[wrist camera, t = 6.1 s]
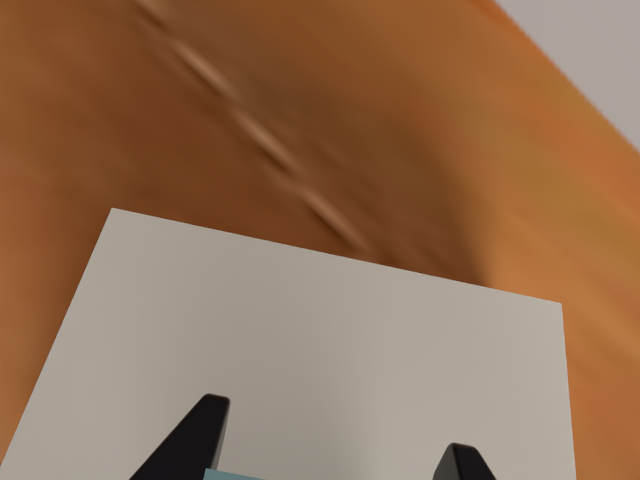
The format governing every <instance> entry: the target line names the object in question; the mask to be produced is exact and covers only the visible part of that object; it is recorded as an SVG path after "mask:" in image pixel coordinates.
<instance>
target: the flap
mask: <svg viewBox="0 0 640 480" xmlns="http://www.w3.org/2000/svg"><path fill="white" fill-rule="evenodd" d="M207 393H211V394H216V395H221V396H226V397H228V398H229V399H230V401H231V403H230V409H229V415H228V420H227V426H226V431H225V436H224V441H223V445H222V449H221V454H220V458H219V462H218V466H217V470H213V469H207V468H206V471H205V475H204V479H203V480H432V479H433V475H434V472H435V470H436V468H437V466H438V464H439V462H440V460H441V458H442V456H443V454H444V452H445V450H446V448H447V446H448V445H449V444H450V443H453V442H455V443H460V444H465V445H470V446H473V447H475V448H476V449H477V450H478V451H479V452H480V454H481V456H482V457H483V459H484V460H485V462H486V463H487V465H488V467H489V468H490V470H491V471H492V473H493V475H494V476H495V478H496V479H497V480H576V471H575V459H574V447H573V435H572V423H571V411H570V399H569V387H568V375H567V363H566V351H565V339H564V327H563V315H562V303H558V302H553V301H548V300H544V299H539V298H534V297H529V296H525V295H520V294H515V293H511V292H506V291H501V290H497V289H492V288H487V287H482V286H478V285H473V284H468V283H464V282H459V281H454V280H450V279H445V278H440V277H436V276H431V275H426V274H421V273H417V272H412V271H407V270H403V269H398V268H393V267H389V266H384V265H379V264H374V263H370V262H365V261H360V260H356V259H351V258H346V257H342V256H337V255H332V254H327V253H323V252H318V251H313V250H309V249H304V248H299V247H295V246H290V245H285V244H281V243H276V242H271V241H266V240H262V239H257V238H252V237H248V236H243V235H238V234H234V233H229V232H224V231H219V230H215V229H210V228H205V227H201V226H196V225H191V224H187V223H182V222H177V221H173V220H168V219H163V218H158V217H154V216H149V215H144V214H140V213H135V212H130V211H126V210H121V209H116V208H112V209H111V211H110V213H109V216H108V218H107V220H106V223H105V225H104V227H103V230H102V232H101V234H100V237H99V239H98V241H97V243H96V246H95V248H94V250H93V253H92V255H91V257H90V260H89V262H88V264H87V267H86V269H85V271H84V274H83V276H82V278H81V281H80V283H79V285H78V288H77V290H76V292H75V295H74V297H73V299H72V302H71V304H70V306H69V309H68V311H67V313H66V316H65V318H64V320H63V322H62V325H61V327H60V329H59V332H58V334H57V336H56V339H55V341H54V343H53V346H52V348H51V350H50V353H49V355H48V357H47V360H46V362H45V364H44V367H43V369H42V371H41V374H40V376H39V378H38V381H37V383H36V385H35V388H34V390H33V392H32V394H31V397H30V399H29V401H28V404H27V406H26V408H25V411H24V413H23V415H22V418H21V420H20V422H19V425H18V427H17V429H16V432H15V434H14V436H13V439H12V441H11V443H10V446H9V448H8V450H7V453H6V455H5V457H4V460H3V462H2V464H1V466H0V480H129V479H130V477H131V476H132V475H133V474H134V473H135V472H136V471H137V470H138V468H139V467H140V466H141V465H142V464H143V463H144V462H145V461H146V459H147V458H148V457H149V456H150V455H151V454H152V453H153V452H154V450H155V449H156V448H157V447H158V446H159V445H160V444H161V443H162V441H163V440H164V439H165V438H166V437H167V436H168V435H169V434H170V432H171V431H172V430H173V429H174V428H175V427H176V426H177V425H178V423H179V422H180V421H181V420H182V419H183V418H184V417H185V415H186V414H187V413H188V412H189V411H190V410H191V409H192V408H193V406H194V405H195V404H196V403H197V402H198V401H199V400H200V399H201V398H202V396H204V395H205V394H207Z"/></svg>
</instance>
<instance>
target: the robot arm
mask: <svg viewBox="0 0 640 480" xmlns="http://www.w3.org/2000/svg"><path fill="white" fill-rule="evenodd" d="M230 403H231V401H230V399H229V398H228V397H226V396H221V395H216V394H211V393H207V394H205V395H204V396H202V398H201V399H200V400H199V401H198V402H197V403H196V404H195V405H194V406H193V408H192V409H191V410H190V411H189V412H188V413H187V414H186V415H185V417H184V418H183V419H182V420H181V421H180V422H179V423H178V425H177V426H176V427H175V428H174V429H173V430H172V431H171V432H170V434H169V435H168V436H167V437H166V438H165V439H164V440H163V441H162V443H161V444H160V445H159V446H158V447H157V448H156V449H155V450H154V452H153V453H152V454H151V455H150V456H149V457H148V458H147V459H146V461H145V462H144V463H143V464H142V465H141V466H140V467H139V468H138V470H137V471H136V472H135V473H134V474H133V475H132V476H131V477H130V479H129V480H203V479H204V475H205V471H206V468H207V469H213V470H217V466H218V462H219V458H220V454H221V449H222V445H223V441H224V436H225V431H226V426H227V420H228V415H229V409H230ZM432 480H497V479H496V478H495V476H494V475H493V473H492V471H491V470H490V468H489V467H488V465H487V463H486V462H485V460H484V459H483V457H482V456H481V454H480V452H479V451H478V450H477V449H476V448H475V447H473V446H470V445H465V444H460V443H455V442H453V443H450V444H449V445H448V446H447V448H446V450H445V452H444V454H443V456H442V458H441V460H440V462H439V464H438V466H437V468H436V470H435V472H434V475H433V479H432Z"/></svg>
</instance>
